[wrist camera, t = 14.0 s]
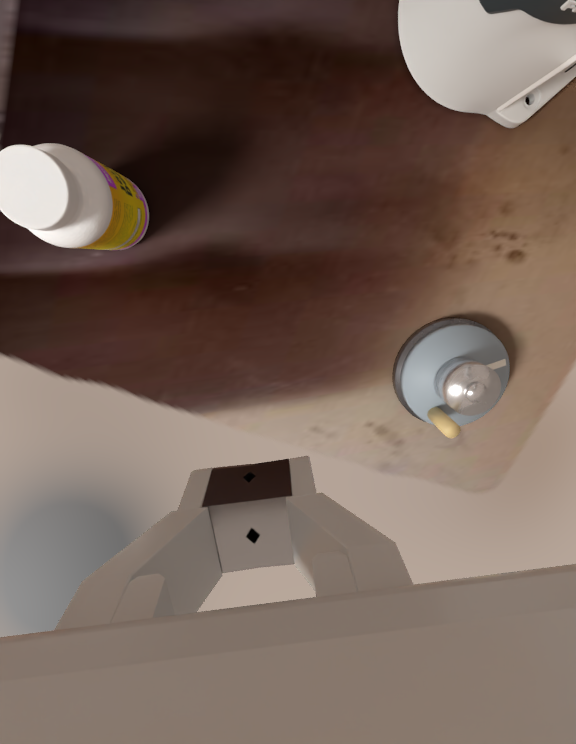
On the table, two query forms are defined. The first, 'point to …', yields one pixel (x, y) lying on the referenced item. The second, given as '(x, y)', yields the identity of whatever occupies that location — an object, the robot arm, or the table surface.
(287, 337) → the table surface
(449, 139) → the table surface
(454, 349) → the turntable
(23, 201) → the supplement bottle
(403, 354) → the turntable base
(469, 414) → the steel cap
